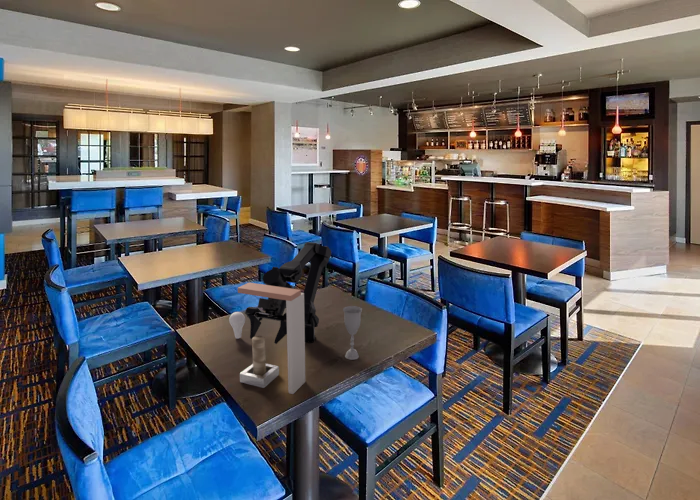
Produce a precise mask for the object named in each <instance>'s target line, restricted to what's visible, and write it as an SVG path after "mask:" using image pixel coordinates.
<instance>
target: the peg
mask: <svg viewBox="0 0 700 500" xmlns="http://www.w3.org/2000/svg"><path fill="white" fill-rule="evenodd" d="M251 345H252V347H251V348H252V364H253V374H255V375H259V376H263V375H264V374H266V364H267V363H266V362H267V360H266V338H265V337H264V336H263V335H255V336H254V337H253V338H252V339H251Z"/></svg>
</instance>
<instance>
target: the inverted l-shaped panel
mask: <svg viewBox="0 0 700 500" xmlns="http://www.w3.org/2000/svg"><path fill="white" fill-rule="evenodd" d="M237 294H244V295H249V296H255V297H256V296H257V297H262V298H267V299H268V298H274V299H281V300H286V308H285V309H286V312H285V313H287V334H286V343H287V344H286V345H287V346H286V347H287V348H286V349H287V384H288V385H287V387H288V390H287V391H288V394H290V395H291V394H292V395H294V394H295V393H296V392H297V391H298V390H299V389H300V388H301V387H302V385H304V384H305V383H306V342H305V321H304V293H303V292H302V289H298V288H293V289H291V288H284V287H277V286H270V285H266V284H262V283H255V282H247V283H245V284H242V285H240V286H238V287H237Z"/></svg>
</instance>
